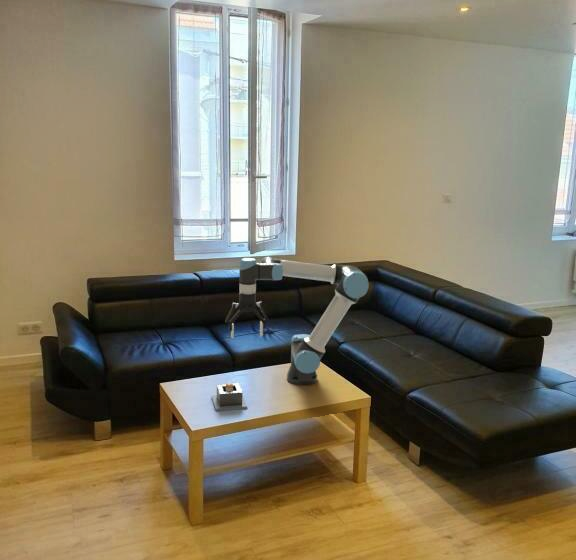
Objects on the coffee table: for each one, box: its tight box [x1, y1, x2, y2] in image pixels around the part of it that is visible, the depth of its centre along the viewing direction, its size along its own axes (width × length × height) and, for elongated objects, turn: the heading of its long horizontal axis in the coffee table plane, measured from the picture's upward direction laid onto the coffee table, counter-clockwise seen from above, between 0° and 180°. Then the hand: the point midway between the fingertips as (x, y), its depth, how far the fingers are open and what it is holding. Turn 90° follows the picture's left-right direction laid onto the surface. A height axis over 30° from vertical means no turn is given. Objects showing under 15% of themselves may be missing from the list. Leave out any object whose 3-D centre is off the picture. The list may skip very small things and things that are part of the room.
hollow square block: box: [216, 382, 243, 407], centre depth 259 cm, size 10×10×6 cm
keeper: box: [211, 382, 248, 412], centre depth 259 cm, size 14×14×9 cm
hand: (246, 336), depth 268 cm, fingers open, 13 cm apart
